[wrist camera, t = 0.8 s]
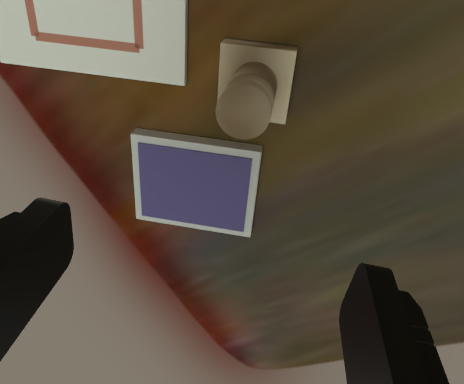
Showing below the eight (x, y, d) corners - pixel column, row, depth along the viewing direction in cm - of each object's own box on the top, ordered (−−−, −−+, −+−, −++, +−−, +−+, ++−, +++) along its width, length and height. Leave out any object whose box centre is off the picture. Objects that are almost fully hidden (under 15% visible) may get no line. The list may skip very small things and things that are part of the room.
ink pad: (262, 145, 29) (261, 153, 28) (252, 228, 34) (249, 238, 33) (136, 127, 30) (129, 134, 29) (141, 211, 35) (135, 220, 34)
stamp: (297, 45, 25) (294, 74, 19) (286, 115, 28) (280, 159, 22) (225, 37, 26) (200, 63, 20) (221, 106, 28) (198, 147, 22)
